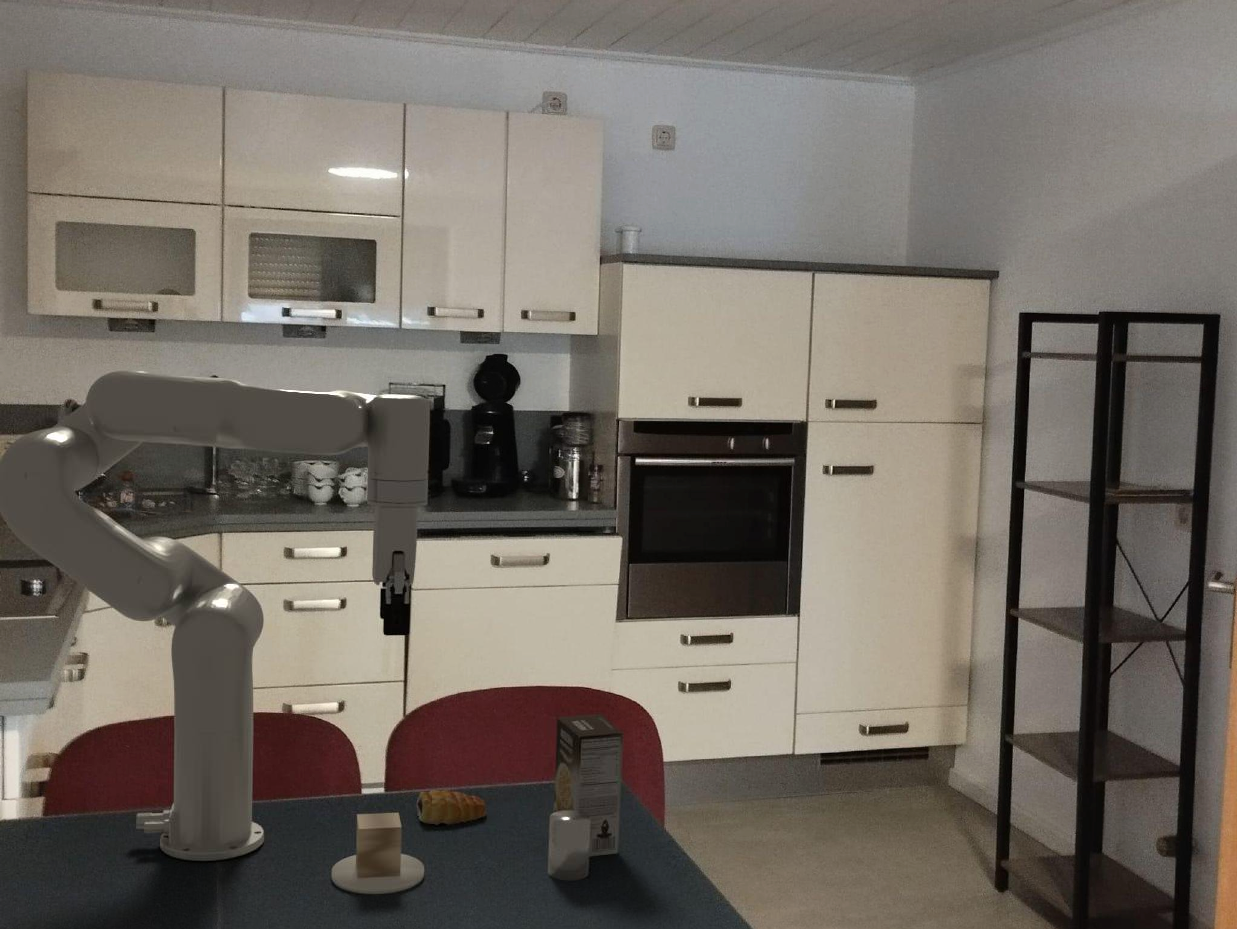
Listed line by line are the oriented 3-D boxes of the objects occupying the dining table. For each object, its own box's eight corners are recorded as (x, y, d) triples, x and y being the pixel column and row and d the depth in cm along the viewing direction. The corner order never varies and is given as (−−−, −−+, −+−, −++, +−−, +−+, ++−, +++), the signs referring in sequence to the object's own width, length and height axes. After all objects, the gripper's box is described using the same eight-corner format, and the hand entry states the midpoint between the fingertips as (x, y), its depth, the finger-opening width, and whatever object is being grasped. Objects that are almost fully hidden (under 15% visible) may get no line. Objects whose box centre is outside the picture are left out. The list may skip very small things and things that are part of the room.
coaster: (332, 896, 155) (332, 889, 155) (330, 860, 166) (330, 854, 166) (427, 891, 158) (428, 884, 158) (420, 856, 168) (420, 850, 168)
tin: (551, 881, 162) (553, 825, 161) (544, 865, 167) (546, 811, 166) (592, 879, 163) (594, 823, 163) (583, 863, 168) (585, 809, 167)
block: (357, 878, 159) (358, 828, 158) (355, 862, 163) (357, 814, 163) (400, 875, 160) (401, 827, 159) (397, 860, 165) (398, 812, 164)
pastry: (480, 807, 188) (481, 780, 187) (490, 824, 181) (491, 797, 181) (413, 812, 185) (414, 785, 184) (421, 829, 178) (422, 801, 178)
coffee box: (550, 834, 178) (554, 715, 176) (595, 829, 180) (600, 712, 179) (573, 859, 169) (578, 735, 168) (620, 854, 172) (625, 731, 170)
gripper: (365, 484, 176) (362, 613, 178) (369, 500, 159) (366, 642, 161) (422, 485, 178) (419, 612, 179) (433, 501, 161) (429, 641, 162)
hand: (394, 626), depth 170 cm, fingers open, 9 cm apart
